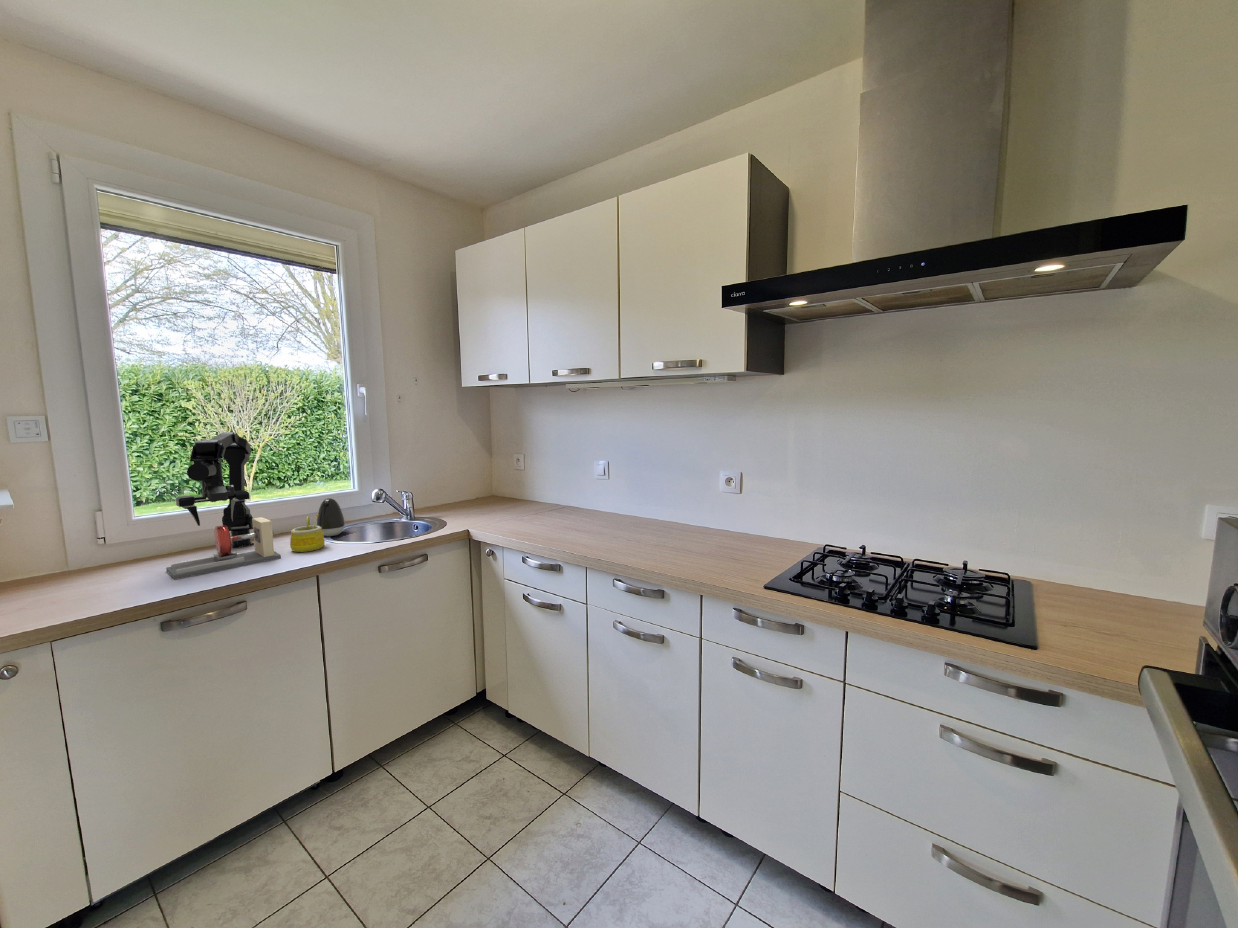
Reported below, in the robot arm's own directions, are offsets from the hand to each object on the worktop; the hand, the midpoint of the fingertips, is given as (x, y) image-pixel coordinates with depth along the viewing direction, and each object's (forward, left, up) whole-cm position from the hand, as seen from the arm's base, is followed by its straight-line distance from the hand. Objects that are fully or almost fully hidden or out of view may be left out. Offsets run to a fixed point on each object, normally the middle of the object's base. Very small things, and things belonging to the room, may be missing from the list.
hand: (216, 523), depth 169 cm
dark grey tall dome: (-9, +38, -13) cm, 41 cm away
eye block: (+6, +1, -13) cm, 15 cm away
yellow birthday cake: (+7, +25, -13) cm, 30 cm away
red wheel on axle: (+6, +6, -12) cm, 15 cm away
